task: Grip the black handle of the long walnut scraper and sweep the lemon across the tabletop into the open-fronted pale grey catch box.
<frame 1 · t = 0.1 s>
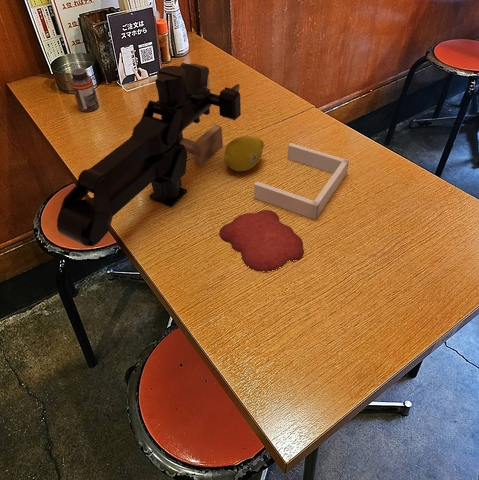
hand: (222, 81, 108), 17 cm above the table, tool horizontal, fingers open, 9 cm apart
scraper: (177, 144, 120), on the table
supplement bottle: (89, 108, 134), on the table
catch box: (301, 185, 106), on the table
red spill: (262, 242, 95), on the table
lemon: (244, 167, 112), on the table
donut: (195, 99, 136), on the table
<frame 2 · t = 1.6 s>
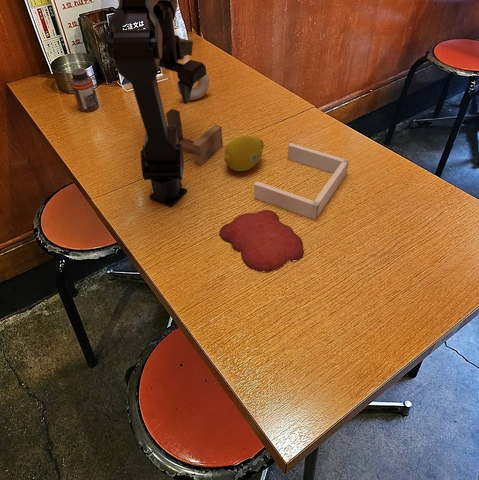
hand: (171, 98, 110), 13 cm above the table, tool pointing down, fingers open, 9 cm apart
nothing on the table moved.
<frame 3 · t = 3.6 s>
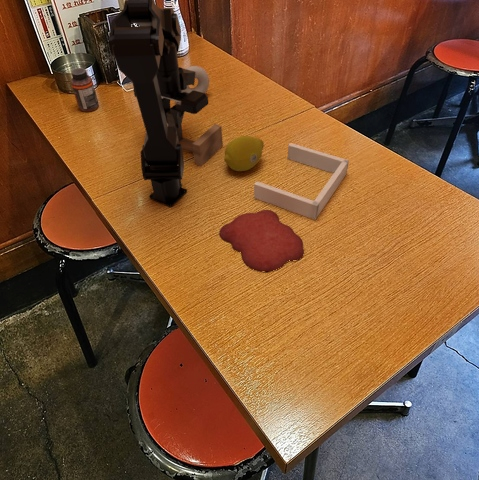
hand: (174, 125, 116), 6 cm above the table, tool pointing down, fingers closed on scraper, 2 cm apart
scraper: (177, 144, 120), on the table, touching gripper
everything else where it was.
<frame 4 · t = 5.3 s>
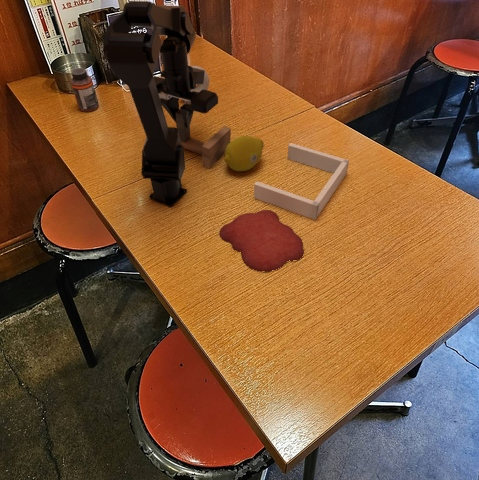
hand: (183, 125, 114), 6 cm above the table, tool pointing down, fingers closed on scraper, 2 cm apart
scraper: (184, 143, 118), point 1 cm above the table, touching gripper
everything else where it was.
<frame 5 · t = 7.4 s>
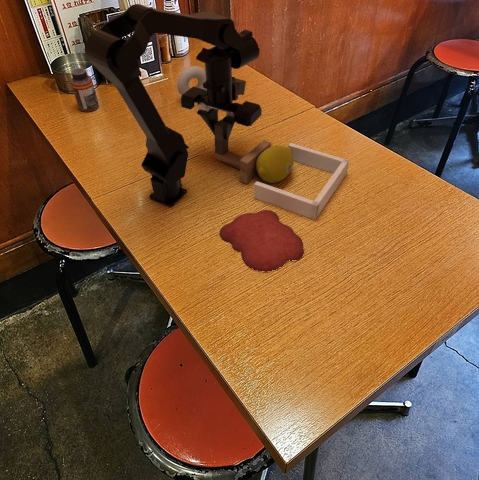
hand: (222, 137, 110), 7 cm above the table, tool pointing down, fingers closed on scraper, 3 cm apart
scraper: (221, 156, 114), point 1 cm above the table, touching gripper, lemon
lemon: (274, 177, 109), on the table, touching scraper
everything else where it was.
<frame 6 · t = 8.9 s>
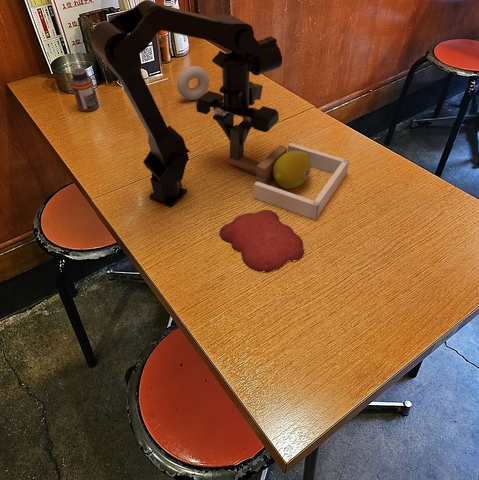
hand: (237, 142, 108), 6 cm above the table, tool pointing down, fingers closed on scraper, 2 cm apart
scraper: (236, 161, 112), point 1 cm above the table, touching gripper, lemon
lemon: (291, 183, 107), on the table, touching scraper
everything else where it was.
when the fingers open (6 cm above the table, at t = 9.8 s): scraper stays where it is, on the table.
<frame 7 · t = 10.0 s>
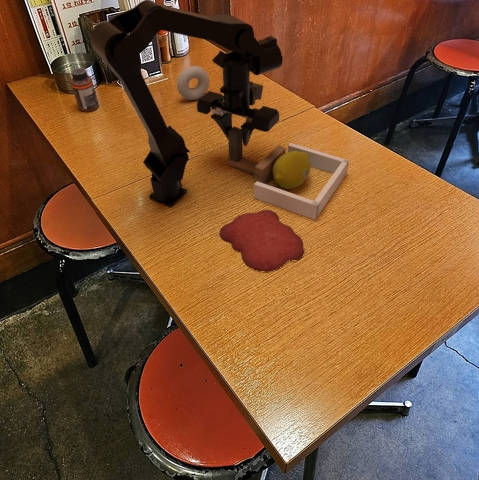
hand: (238, 142, 108), 6 cm above the table, tool pointing down, fingers open, 4 cm apart
scraper: (235, 163, 113), on the table
lemon: (291, 183, 107), on the table
everything else where it was.
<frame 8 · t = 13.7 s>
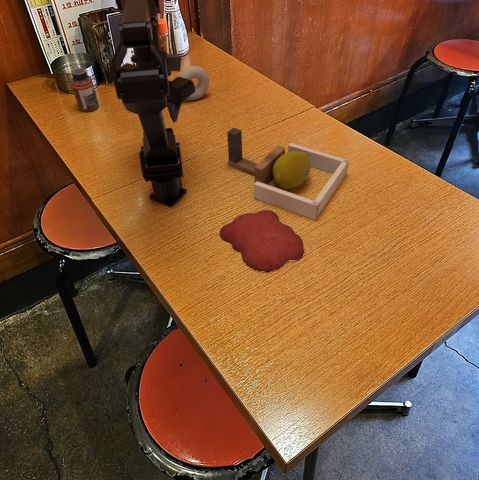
hand: (158, 116, 105), 13 cm above the table, tool pointing down, fingers open, 9 cm apart
nothing on the table moved.
at the end: lemon inside the target area on the catch box (4.3 cm from its centre), point 0.0 cm above the catch box's base; lemon moved 13.0 cm from its start; the gripper is holding nothing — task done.
